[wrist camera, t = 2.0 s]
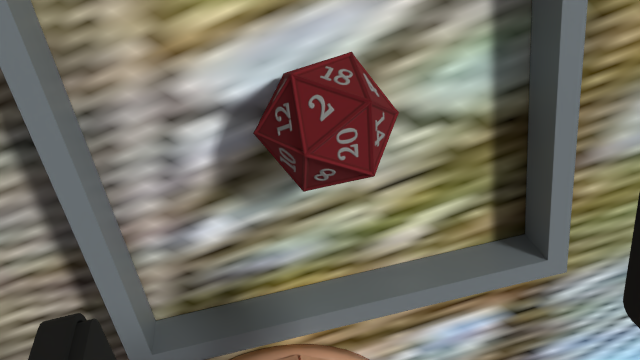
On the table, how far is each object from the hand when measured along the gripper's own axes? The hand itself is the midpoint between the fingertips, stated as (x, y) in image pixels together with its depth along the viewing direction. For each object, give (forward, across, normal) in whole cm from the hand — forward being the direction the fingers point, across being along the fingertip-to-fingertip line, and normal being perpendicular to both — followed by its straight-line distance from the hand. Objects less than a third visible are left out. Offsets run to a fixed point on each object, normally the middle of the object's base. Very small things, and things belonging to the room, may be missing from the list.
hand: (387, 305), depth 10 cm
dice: (+11, -1, 0) cm, 11 cm away
